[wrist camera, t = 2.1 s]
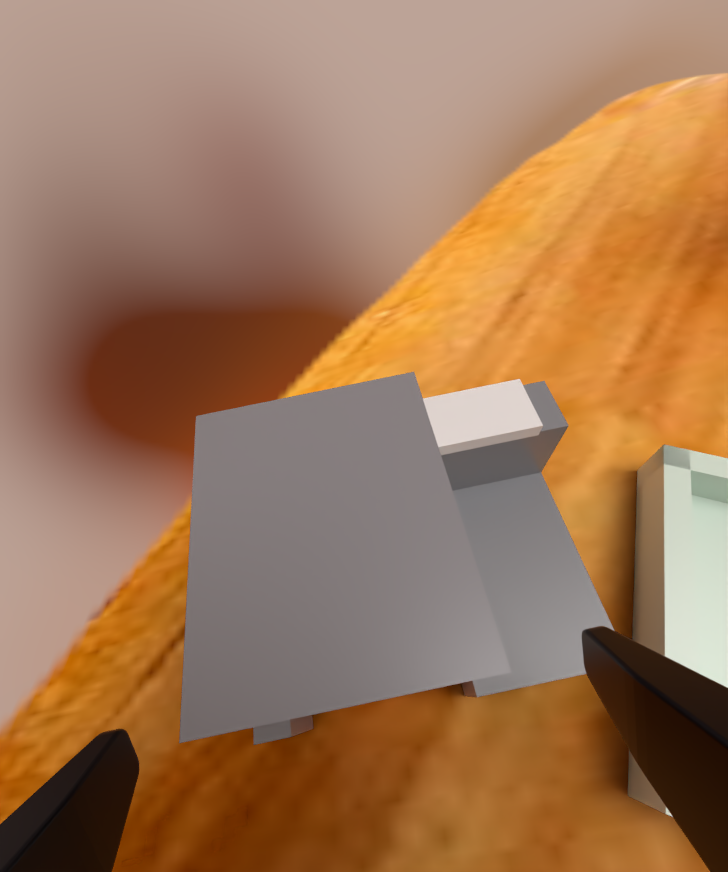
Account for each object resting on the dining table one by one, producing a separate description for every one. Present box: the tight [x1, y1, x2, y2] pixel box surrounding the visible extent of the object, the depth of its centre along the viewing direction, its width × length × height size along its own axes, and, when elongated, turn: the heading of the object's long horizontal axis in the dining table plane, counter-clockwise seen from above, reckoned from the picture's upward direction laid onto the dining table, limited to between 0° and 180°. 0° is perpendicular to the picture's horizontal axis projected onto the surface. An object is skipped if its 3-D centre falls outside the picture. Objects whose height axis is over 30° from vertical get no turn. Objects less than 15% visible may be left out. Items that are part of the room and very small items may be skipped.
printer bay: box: [253, 379, 614, 745], centre depth 15 cm, size 9×12×7 cm
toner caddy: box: [179, 372, 511, 743], centre depth 13 cm, size 6×5×12 cm
